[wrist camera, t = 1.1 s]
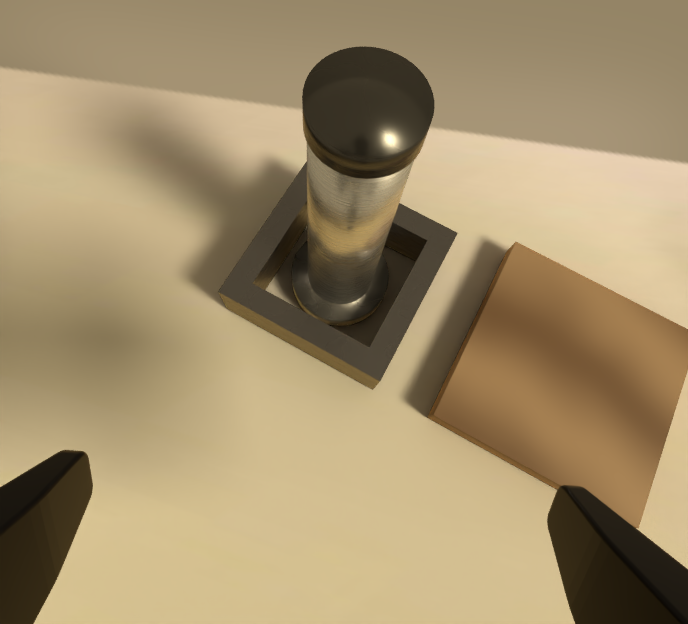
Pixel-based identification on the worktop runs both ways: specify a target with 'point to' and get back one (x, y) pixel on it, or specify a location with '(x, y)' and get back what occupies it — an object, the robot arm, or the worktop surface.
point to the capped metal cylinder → (356, 176)
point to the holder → (305, 330)
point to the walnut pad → (567, 381)
